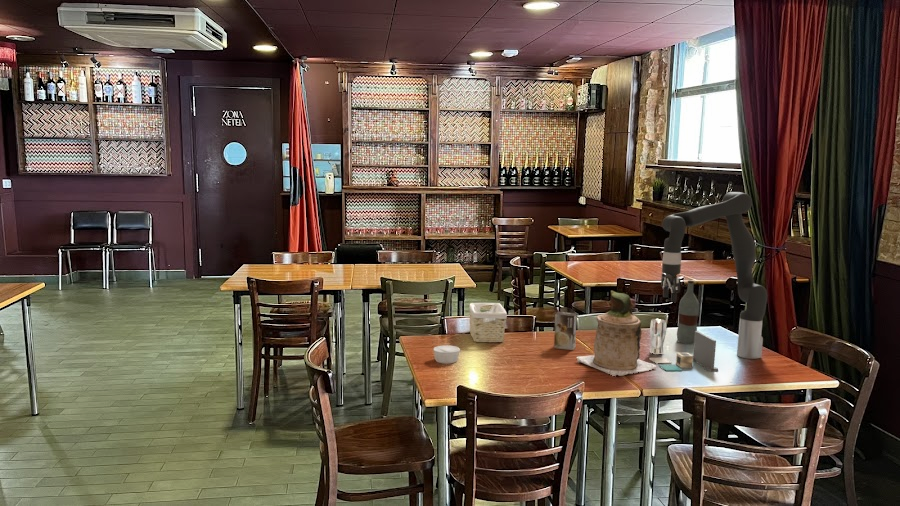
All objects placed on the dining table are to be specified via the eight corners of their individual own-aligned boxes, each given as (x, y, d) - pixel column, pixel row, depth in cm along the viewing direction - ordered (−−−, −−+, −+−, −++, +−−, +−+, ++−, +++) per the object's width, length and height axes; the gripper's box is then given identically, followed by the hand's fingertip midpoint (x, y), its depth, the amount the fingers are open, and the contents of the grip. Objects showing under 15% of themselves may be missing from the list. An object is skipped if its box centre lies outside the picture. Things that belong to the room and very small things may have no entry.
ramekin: (429, 362, 283) (429, 350, 282) (438, 355, 293) (439, 343, 292) (454, 366, 279) (454, 353, 278) (463, 358, 289) (463, 346, 288)
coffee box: (575, 347, 312) (577, 313, 309) (573, 350, 306) (574, 316, 303) (556, 344, 315) (558, 311, 313) (553, 348, 309) (554, 313, 307)
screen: (699, 359, 296) (701, 330, 294) (717, 370, 280) (720, 340, 279) (688, 359, 296) (690, 330, 294) (706, 371, 280) (709, 340, 278)
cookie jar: (616, 378, 268) (620, 299, 263) (573, 362, 288) (577, 288, 284) (658, 369, 281) (663, 294, 276) (615, 354, 301) (619, 284, 297)
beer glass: (665, 355, 301) (667, 322, 299) (649, 354, 302) (651, 321, 300) (663, 351, 308) (665, 319, 306) (647, 350, 309) (650, 318, 307)
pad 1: (664, 359, 296) (664, 357, 296) (671, 363, 289) (671, 362, 289) (649, 359, 295) (649, 357, 295) (655, 364, 288) (656, 362, 288)
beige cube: (686, 363, 290) (687, 352, 289) (692, 367, 285) (693, 355, 284) (675, 364, 289) (676, 352, 288) (680, 367, 284) (681, 355, 283)
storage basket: (467, 330, 337) (468, 301, 335) (499, 330, 338) (500, 302, 336) (472, 343, 314) (473, 312, 312) (506, 343, 315) (507, 313, 313)
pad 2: (674, 365, 286) (674, 364, 286) (682, 371, 279) (682, 369, 279) (658, 366, 285) (658, 364, 285) (665, 371, 278) (666, 369, 278)
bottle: (698, 341, 327) (703, 280, 323) (694, 345, 319) (698, 283, 315) (678, 338, 332) (683, 278, 328) (674, 342, 324) (678, 281, 320)
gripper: (687, 265, 281) (685, 302, 283) (673, 259, 295) (671, 296, 297) (670, 265, 280) (668, 303, 283) (656, 259, 294) (654, 296, 297)
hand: (669, 299), depth 290 cm, fingers open, 8 cm apart
